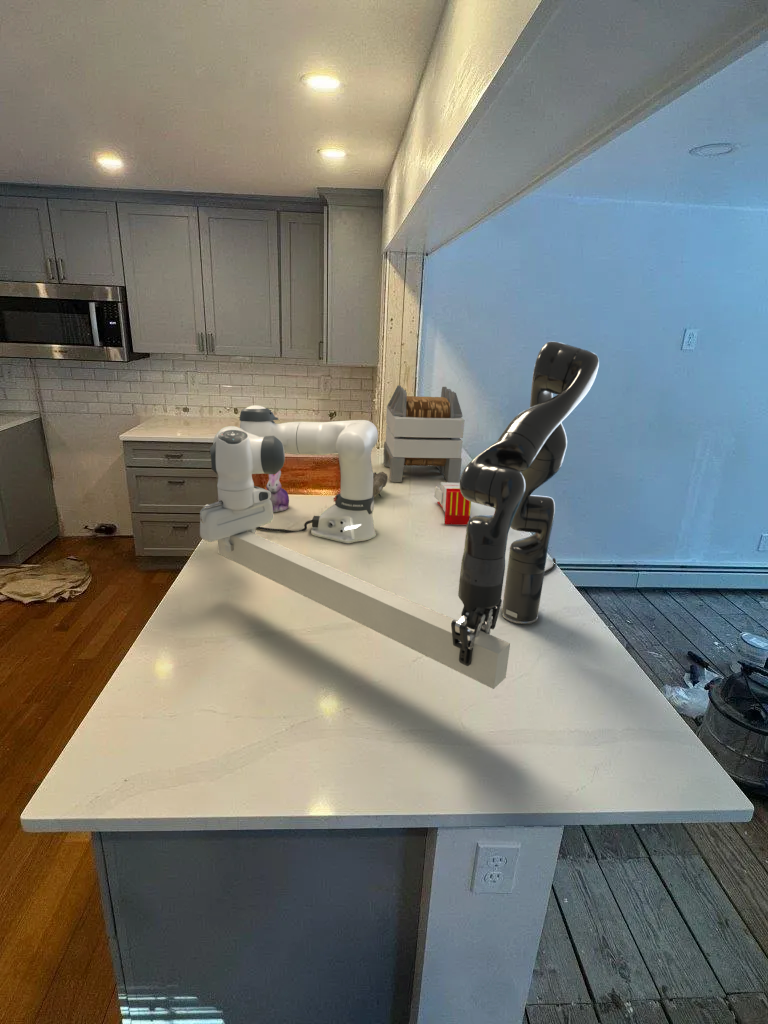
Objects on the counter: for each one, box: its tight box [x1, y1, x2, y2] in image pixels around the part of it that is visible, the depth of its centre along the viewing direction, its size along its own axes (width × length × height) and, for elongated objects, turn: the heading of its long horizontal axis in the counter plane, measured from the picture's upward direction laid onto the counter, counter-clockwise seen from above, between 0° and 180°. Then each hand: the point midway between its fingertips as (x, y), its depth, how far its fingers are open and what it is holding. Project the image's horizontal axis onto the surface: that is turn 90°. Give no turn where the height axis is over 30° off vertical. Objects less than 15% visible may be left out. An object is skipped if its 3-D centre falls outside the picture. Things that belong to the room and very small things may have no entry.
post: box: [217, 531, 511, 690], centre depth 125 cm, size 82×4×7 cm, turn 50°
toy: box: [434, 481, 472, 526], centre depth 221 cm, size 12×13×30 cm
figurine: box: [265, 470, 290, 513], centre depth 216 cm, size 9×10×15 cm
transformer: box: [383, 384, 465, 483], centre depth 268 cm, size 34×33×41 cm
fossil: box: [373, 471, 389, 498], centre depth 236 cm, size 22×10×15 cm
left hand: (239, 547), depth 146 cm, fingers closed on post, 4 cm apart
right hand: (472, 657), depth 105 cm, fingers closed on post, 4 cm apart
